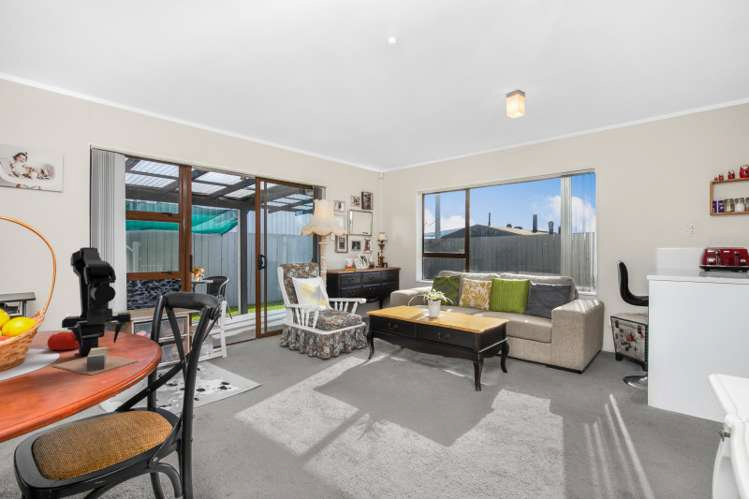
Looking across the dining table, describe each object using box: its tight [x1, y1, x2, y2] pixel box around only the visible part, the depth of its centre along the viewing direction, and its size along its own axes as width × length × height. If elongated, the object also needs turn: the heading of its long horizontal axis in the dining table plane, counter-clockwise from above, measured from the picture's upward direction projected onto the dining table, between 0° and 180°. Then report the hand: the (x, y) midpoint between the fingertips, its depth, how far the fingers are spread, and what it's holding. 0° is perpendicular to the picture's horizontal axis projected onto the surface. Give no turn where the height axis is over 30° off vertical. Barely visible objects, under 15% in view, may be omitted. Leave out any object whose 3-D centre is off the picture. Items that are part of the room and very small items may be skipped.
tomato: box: [46, 331, 79, 351], centre depth 144 cm, size 10×11×7 cm
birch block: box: [87, 346, 108, 371], centre depth 124 cm, size 4×4×12 cm
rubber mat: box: [52, 354, 139, 377], centre depth 126 cm, size 21×15×1 cm
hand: (98, 344), depth 125 cm, fingers open, 9 cm apart
